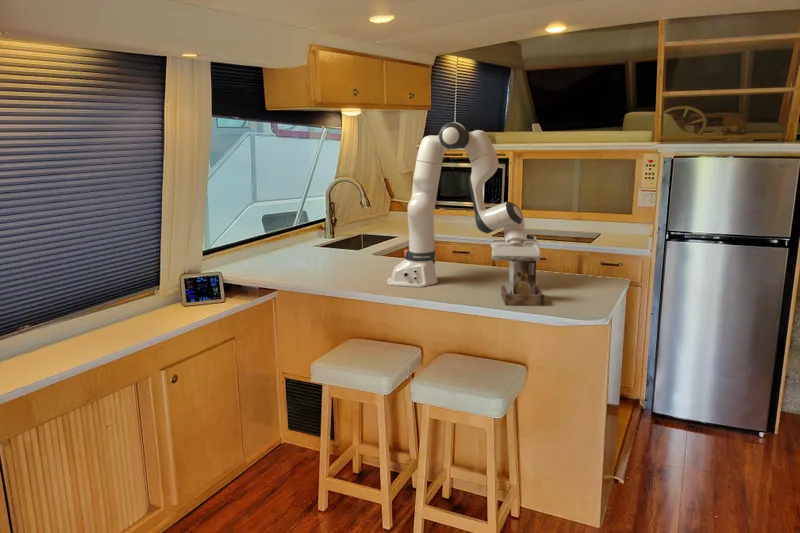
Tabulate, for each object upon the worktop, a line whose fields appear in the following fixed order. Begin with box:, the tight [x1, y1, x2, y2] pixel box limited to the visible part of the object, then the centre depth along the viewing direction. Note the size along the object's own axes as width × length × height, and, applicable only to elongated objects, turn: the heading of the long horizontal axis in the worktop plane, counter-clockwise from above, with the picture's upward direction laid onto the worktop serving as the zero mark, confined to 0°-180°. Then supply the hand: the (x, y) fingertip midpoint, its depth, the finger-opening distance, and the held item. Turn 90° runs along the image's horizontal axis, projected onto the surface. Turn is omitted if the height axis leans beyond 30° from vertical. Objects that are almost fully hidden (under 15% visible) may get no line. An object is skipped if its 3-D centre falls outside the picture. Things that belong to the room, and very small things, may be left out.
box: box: [500, 284, 545, 307], centre depth 230 cm, size 14×15×4 cm
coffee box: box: [508, 258, 537, 295], centre depth 230 cm, size 9×6×16 cm
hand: (516, 268), depth 241 cm, fingers closed
